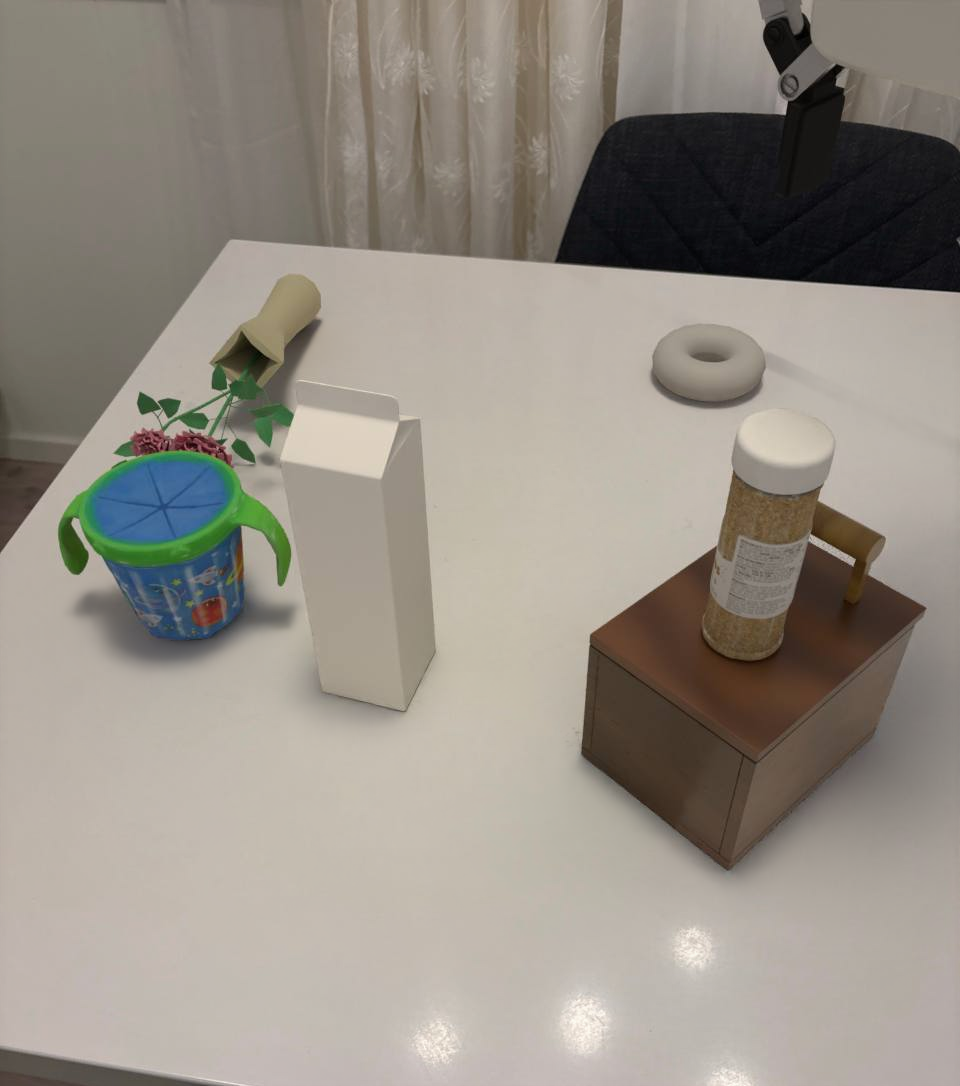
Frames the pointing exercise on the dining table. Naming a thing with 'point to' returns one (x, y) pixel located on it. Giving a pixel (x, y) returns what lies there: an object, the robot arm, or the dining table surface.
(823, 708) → the chest
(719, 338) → the donut
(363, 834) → the dining table surface
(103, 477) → the snack cup
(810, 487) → the sprinkles bottle
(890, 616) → the lid
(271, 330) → the flower vase
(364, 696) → the milk
